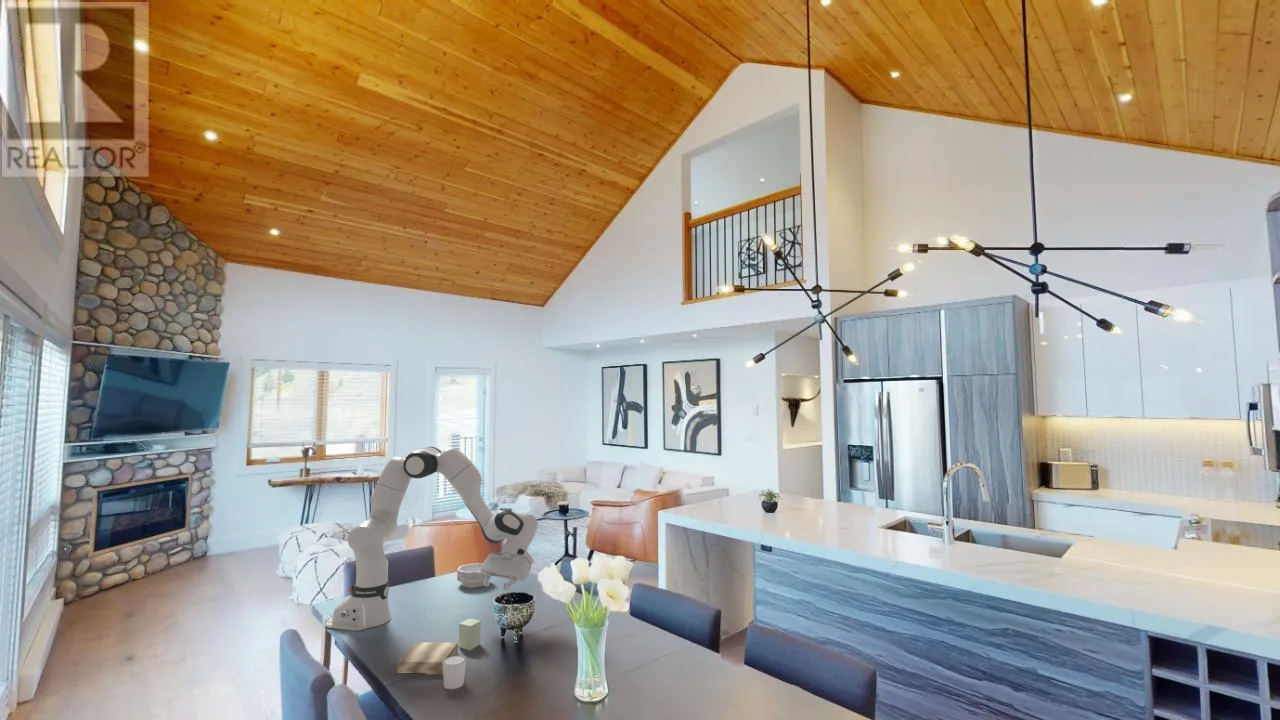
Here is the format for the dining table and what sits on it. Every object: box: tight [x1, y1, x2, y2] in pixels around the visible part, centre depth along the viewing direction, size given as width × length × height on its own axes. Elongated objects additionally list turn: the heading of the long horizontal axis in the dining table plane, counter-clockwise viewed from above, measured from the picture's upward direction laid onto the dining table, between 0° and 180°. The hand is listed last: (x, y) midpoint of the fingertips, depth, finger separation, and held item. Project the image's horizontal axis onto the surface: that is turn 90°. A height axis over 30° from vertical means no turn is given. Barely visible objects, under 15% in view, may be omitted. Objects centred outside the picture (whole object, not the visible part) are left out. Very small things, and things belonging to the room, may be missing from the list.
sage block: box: [458, 618, 482, 651], centre depth 193 cm, size 5×5×8 cm
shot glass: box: [442, 654, 467, 690], centre depth 167 cm, size 7×7×7 cm
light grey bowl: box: [456, 562, 492, 589], centre depth 256 cm, size 15×15×8 cm
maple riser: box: [396, 641, 459, 675], centre depth 180 cm, size 14×14×4 cm
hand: (495, 587), depth 205 cm, fingers open, 8 cm apart
